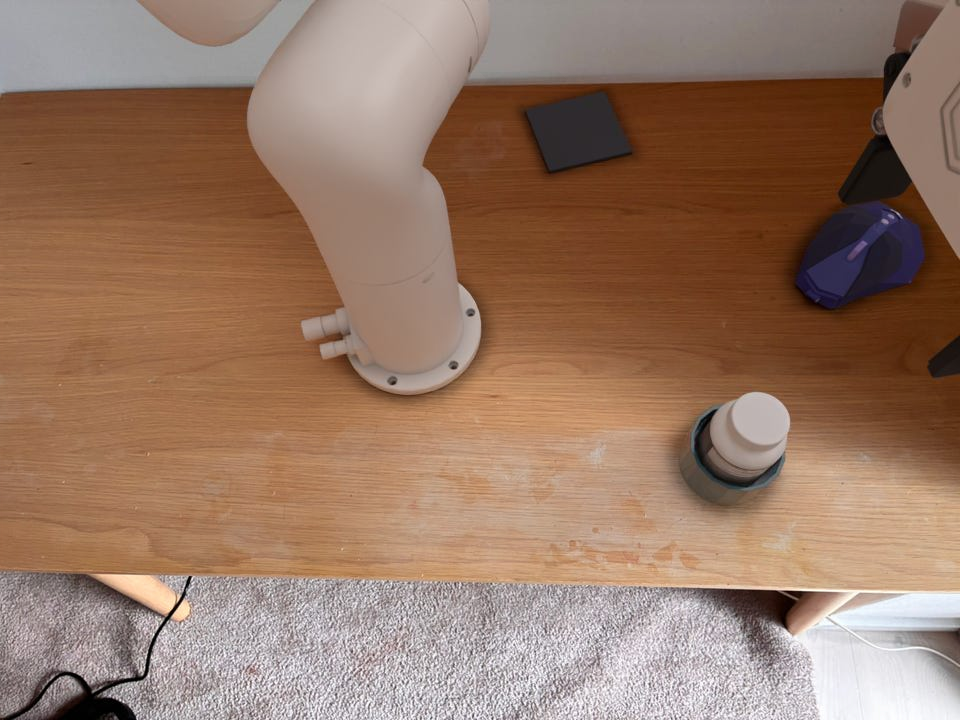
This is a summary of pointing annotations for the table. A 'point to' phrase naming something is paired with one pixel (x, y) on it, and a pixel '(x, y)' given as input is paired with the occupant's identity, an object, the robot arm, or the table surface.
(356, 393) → the table surface
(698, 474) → the cup
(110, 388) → the table surface
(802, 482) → the table surface
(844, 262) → the computer mouse
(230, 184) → the table surface
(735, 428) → the pill bottle
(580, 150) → the mat
